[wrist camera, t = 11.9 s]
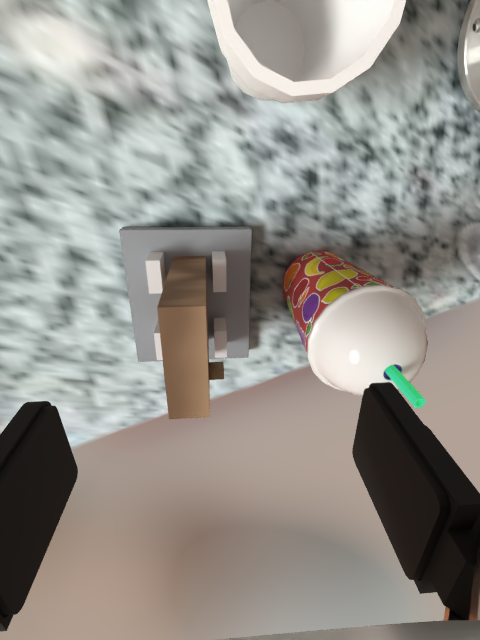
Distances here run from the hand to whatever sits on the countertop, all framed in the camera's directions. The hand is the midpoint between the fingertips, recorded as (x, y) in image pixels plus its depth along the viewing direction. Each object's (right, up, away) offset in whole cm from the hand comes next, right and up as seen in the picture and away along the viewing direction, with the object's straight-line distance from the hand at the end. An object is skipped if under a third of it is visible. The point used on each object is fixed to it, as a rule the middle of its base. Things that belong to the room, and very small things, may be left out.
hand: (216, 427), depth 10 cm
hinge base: (-4, +6, +24) cm, 26 cm away
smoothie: (+8, +8, +25) cm, 28 cm away
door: (-4, +5, +23) cm, 24 cm away
